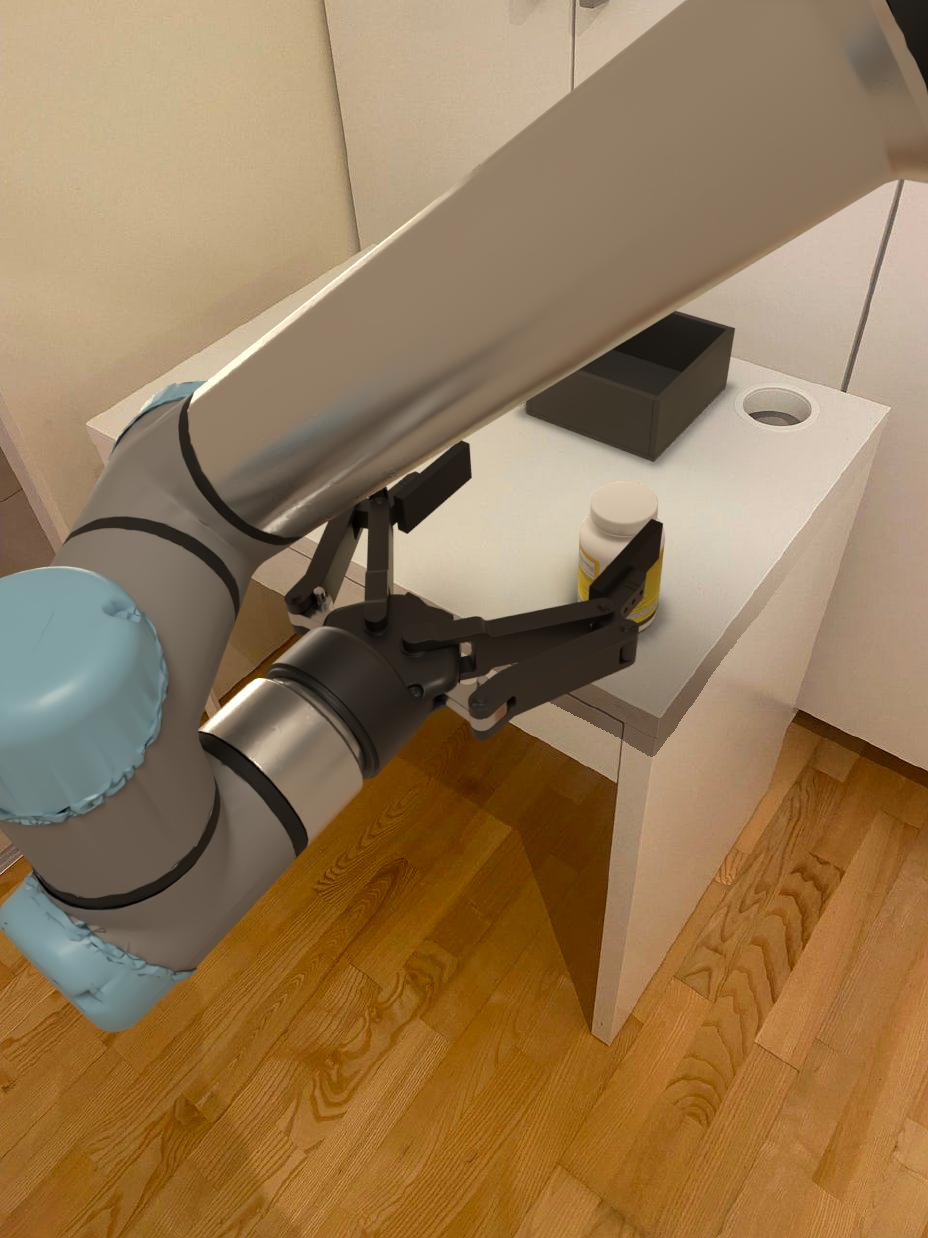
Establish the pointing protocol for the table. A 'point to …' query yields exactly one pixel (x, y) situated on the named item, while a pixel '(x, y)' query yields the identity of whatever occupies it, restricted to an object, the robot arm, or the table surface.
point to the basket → (643, 386)
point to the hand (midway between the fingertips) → (556, 496)
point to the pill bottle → (619, 540)
